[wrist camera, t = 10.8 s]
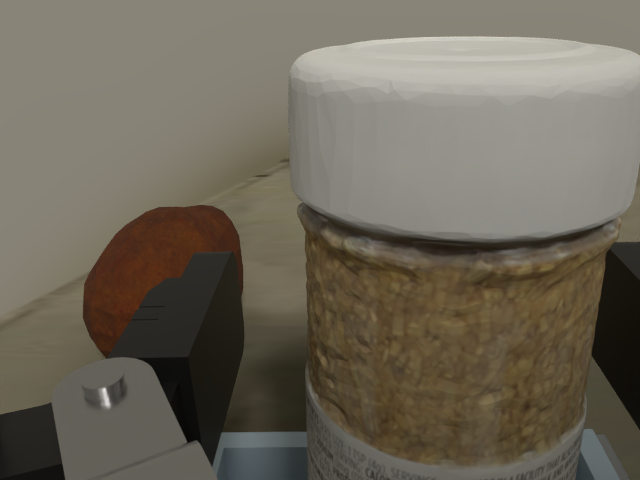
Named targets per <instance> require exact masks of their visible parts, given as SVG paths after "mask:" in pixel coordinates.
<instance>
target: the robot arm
mask: <svg viewBox="0 0 640 480" xmlns="http://www.w3.org/2000/svg"><path fill="white" fill-rule="evenodd" d="M243 348H244V321H243V312H242V303H241V294H240V285H239V276H238V267H237V260H236V256H235V254H234V252H195V253H194V254H193V255H192V257H191V259H190V261H189V263H188V265H187V267H186V268H185V270H184V272H183V274H182V276H181V278H166V279H165V280H163V281H162V282H161V283H159V284H158V285H156V286H155V287H154V288H152V289H151V290H149V291H148V293H147V294H146V296H145V297H144V299H143V301H142V302H141V304H140V305H139V310H136V312H135V314H134V315H133V317H132V318H131V323H128V325H127V327H126V328H125V330H124V331H123V333H122V335H121V336H120V338H119V339H118V341H117V343H116V344H115V346H114V348H113V349H112V351H111V352H110V354H109V356H108V357H107V359H104V360H100V361H96V362H93V363H90V364H87V365H85V366H83V367H81V368H79V369H77V370H75V371H73V372H72V373H70V374H69V375H67V376H66V377H65V378H64V379H63V380H62V381H61V382H60V383H59V384H58V385H57V386H56V388H55V390H54V391H53V394H52V403H49V404H45V405H42V406H38V407H33V408H29V409H24V410H19V411H15V412H10V413H6V414H1V415H0V480H218V479H217V477H216V475H215V473H214V471H213V469H212V466H213V462H214V459H215V455H216V451H217V448H218V444H219V440H220V436H221V433H222V429H223V425H224V422H225V418H226V414H227V410H228V407H229V403H230V399H231V396H232V392H233V388H234V384H235V381H236V377H237V373H238V370H239V366H240V362H241V358H242V354H243ZM591 355H592V356H593V358H594V359H595V361H596V363H597V364H598V366H599V367H600V369H601V370H602V372H603V373H604V375H605V377H606V378H607V380H608V381H609V383H610V384H611V386H612V387H613V389H614V391H615V392H616V394H617V395H618V397H619V398H620V400H621V401H622V403H623V405H624V406H625V408H626V409H627V411H628V412H629V414H630V415H631V417H632V419H633V420H634V422H635V423H636V425H637V426H638V428H639V429H640V242H614V244H613V245H612V246H611V247H610V249H609V250H608V251H607V252H606V257H605V271H604V277H603V283H602V289H601V296H600V301H599V304H598V314H597V320H596V325H595V335H594V341H593V346H592V354H591Z"/></svg>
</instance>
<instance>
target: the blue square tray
mask: <svg viewBox="0 0 640 480" xmlns="http://www.w3.org/2000/svg"><path fill="white" fill-rule="evenodd" d="M212 469H213V471H214V473H215V475H216V477H217V479H218V480H308V456H307V432H222V433H221V436H220V440H219V444H218V448H217V451H216V455H215V459H214V462H213V466H212ZM575 480H630V478H629V476H628V475H627V473H626V471H625V469H624V468H623V466H622V464H621V462H620V460H619V459H618V457H617V455H616V453H615V452H614V450H613V448H612V446H611V444H610V443H609V441H608V439H607V437H606V435H605V434H595V433H594V431H593V429H584V431H583V437H582V443H581V448H580V454H579V460H578V466H577V471H576V477H575Z"/></svg>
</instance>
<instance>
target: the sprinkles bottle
mask: <svg viewBox="0 0 640 480" xmlns="http://www.w3.org/2000/svg"><path fill="white" fill-rule="evenodd" d="M288 113H289V114H288V115H289V116H288V123H289V148H290V149H289V151H290V178H291V186H292V189H293V192H294V193H295V195H296V196H297V197H298V199H300V200H301V201H302V202H303V203H301V204H300V205H299V206H298V208H297V214H298V217H299V219H300V221H301V223H302V225H303V227H304V229H305V231H306V235H305V253H306V257H307V262H306V264H305V265H306V274H307V283H306V289H307V312H308V321H307V324H308V340H307V343H308V360H307V363H306V368H305V392H306V426H307V456H308V480H575V477H576V471H577V466H578V460H579V454H580V448H581V443H582V437H583V431H584V425H585V419H586V412H587V398H586V392H585V391H586V384H587V374H588V370H589V365H590V361H591V354H592V346H593V341H594V335H595V325H596V320H597V314H598V304H599V301H600V296H601V289H602V283H603V277H604V271H605V257H606V252H607V251H608V250H609V249H610V247H611V246H612V245H613V244H614V242H615V241H616V240H617V239H618V236H619V229H620V226H621V218H620V215H621V214H623V213H624V212H625V211H626V210H627V209H628V208H629V206H630V205H631V203H632V201H633V197H634V193H635V187H636V181H637V176H638V170H639V164H640V55H638V54H636V53H634V52H632V51H628V50H625V49H621V48H616V47H611V46H604V45H598V44H585V43H581V42H577V41H567V40H559V39H558V40H557V39H548V38H526V37H419V38H400V39H399V38H398V39H385V40H371V41H364V42H357V43H352V44H349V45H340V46H333V47H325V48H321V49H316V50H312V51H310V52H307V53H305V54H303V55H302V56H300V57H299V58H298V59H297V60H296V61H295V63H294V64H293V65H292V67H291V70H290V74H289V109H288Z"/></svg>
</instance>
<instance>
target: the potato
mask: <svg viewBox="0 0 640 480" xmlns="http://www.w3.org/2000/svg"><path fill="white" fill-rule="evenodd" d="M195 252H234V254H235V256H236V260H237V267H238V276H239V285H240V294H241V295H242V290H243V264H242V256H241V248H240V240H239V235H238V233H237V231H236V229H235V227H234V225H233V223H232V221H231V220H230V219H229V218H228V216H227V215H226V214H225V213H224V212H223V211H222V210H220V209H217V208H215V207H213V206H206V205H197V206H190V207H158V208H156V209H153V210H150V211H148V212H145V213H144V214H142V215H141V216H139V217H138V218H136V219H134V220H133V221H131V222H130V223H128V224H127V225H125V226H124V227H123V228H122V229H121V230H120V231H119V232H118V233H116V235H115V236H114V238H113V239H112V240H111V241H110V243H109V244H108V245H107V247H106V248H105V250H104V251H103V253H102V254H101V256H100V257H99V259H98V261H97V262H96V264H95V265H94V267H93V268H92V270H91V271H90V273H89V275H88V277H87V279H86V282H85V284H84V301H83V319H84V322H85V325H86V327H87V330H88V333H89V335H90V337H91V339H92V340H93V342H94V343H95V345H96V346H97V348H98V349H99V350H100V351H101V352H102V353H103V355H104V356H105V357H106V358H107V357H108V356H109V354H110V352H111V351H112V349H113V348H114V346H115V344H116V343H117V341H118V339H119V338H120V336H121V335H122V333H123V331H124V330H125V328H126V327H127V325H128V323H131V318H132V317H133V315H134V314H135V312H136V310H139V305H140V304H141V302H142V301H143V299H144V297H145V296H146V294H147V293H148V291H149V290H151V289H152V288H154V287H155V286H156V285H158V284H159V283H161V282H162V281H163V280H165V279H166V278H181V276H182V274H183V272H184V270H185V268H186V267H187V265H188V263H189V261H190V259H191V257H192V255H193V254H194V253H195Z"/></svg>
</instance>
